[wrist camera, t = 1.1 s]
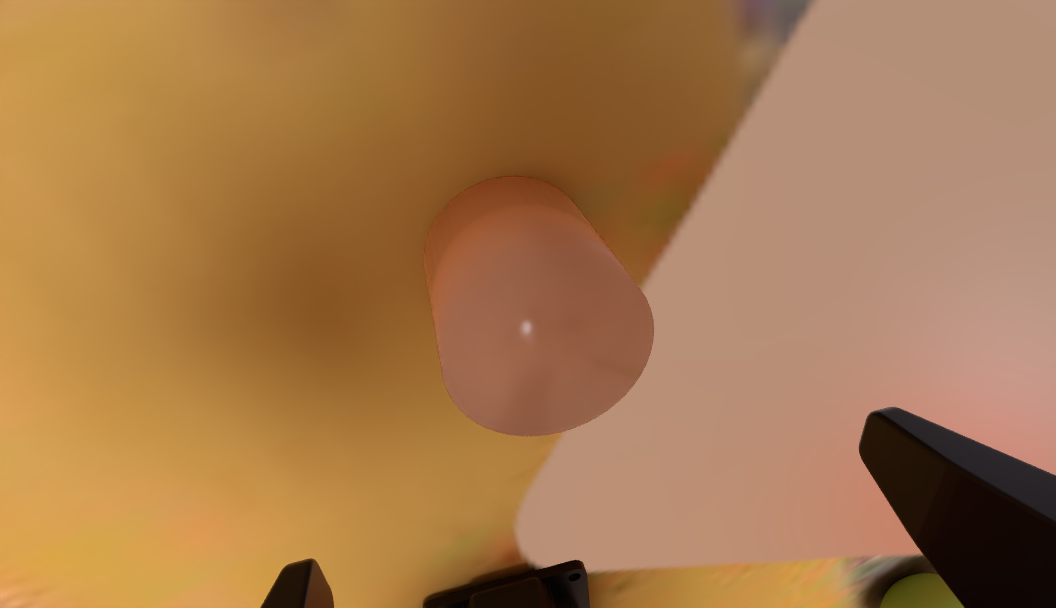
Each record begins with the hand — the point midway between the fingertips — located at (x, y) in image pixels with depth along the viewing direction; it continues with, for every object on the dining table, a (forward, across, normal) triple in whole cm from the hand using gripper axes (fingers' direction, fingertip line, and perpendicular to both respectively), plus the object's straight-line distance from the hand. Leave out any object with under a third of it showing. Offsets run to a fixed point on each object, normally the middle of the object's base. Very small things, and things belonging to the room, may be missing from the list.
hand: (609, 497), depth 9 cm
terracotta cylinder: (+8, 0, 0) cm, 8 cm away
